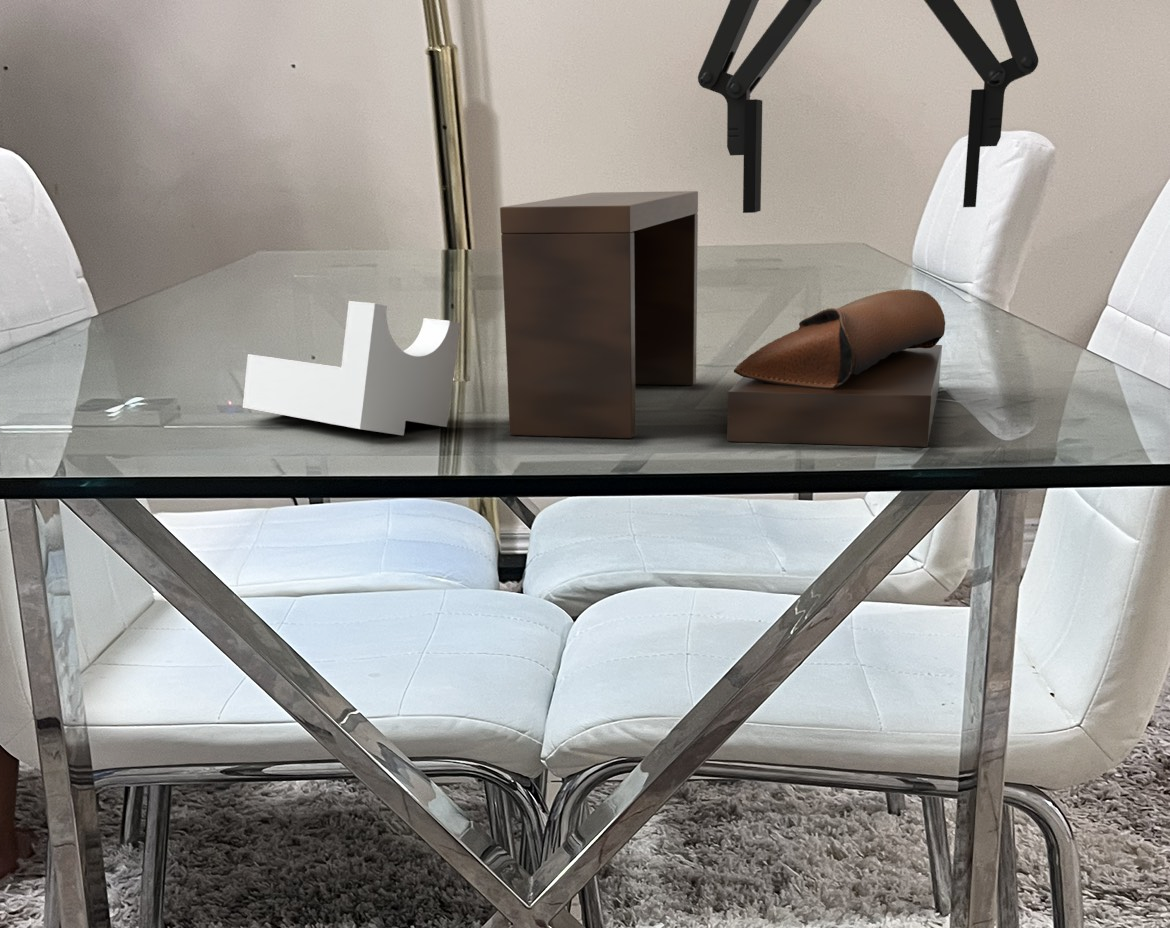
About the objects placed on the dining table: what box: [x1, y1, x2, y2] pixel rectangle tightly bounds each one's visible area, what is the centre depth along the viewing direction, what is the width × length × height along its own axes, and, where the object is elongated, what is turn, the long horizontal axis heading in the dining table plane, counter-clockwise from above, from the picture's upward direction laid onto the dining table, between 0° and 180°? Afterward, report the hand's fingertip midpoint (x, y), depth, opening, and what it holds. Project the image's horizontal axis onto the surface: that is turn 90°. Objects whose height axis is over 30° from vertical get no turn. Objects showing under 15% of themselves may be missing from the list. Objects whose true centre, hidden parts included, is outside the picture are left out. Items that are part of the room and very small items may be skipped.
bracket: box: [242, 300, 462, 436], centre depth 93 cm, size 13×7×8 cm, turn 46°
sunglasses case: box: [733, 288, 946, 389], centre depth 92 cm, size 18×7×7 cm, turn 150°
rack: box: [499, 190, 943, 448], centre depth 93 cm, size 26×22×14 cm
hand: (858, 210), depth 89 cm, fingers open, 13 cm apart
